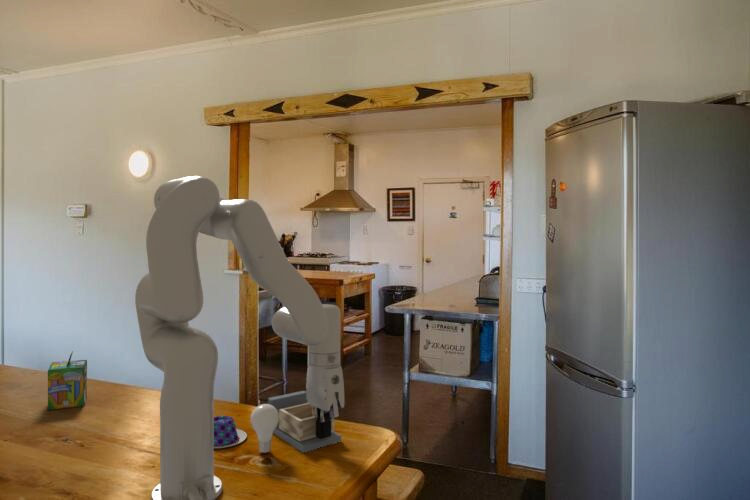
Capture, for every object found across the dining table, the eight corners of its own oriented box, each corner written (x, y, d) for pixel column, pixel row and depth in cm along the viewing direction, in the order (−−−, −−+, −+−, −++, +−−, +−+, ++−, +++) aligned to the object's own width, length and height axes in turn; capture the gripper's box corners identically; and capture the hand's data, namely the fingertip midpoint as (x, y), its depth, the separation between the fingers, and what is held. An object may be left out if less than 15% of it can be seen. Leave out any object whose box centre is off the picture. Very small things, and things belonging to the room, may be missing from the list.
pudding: (193, 435, 126) (193, 414, 126) (243, 428, 130) (243, 408, 130) (196, 454, 115) (196, 431, 115) (250, 446, 119) (250, 424, 119)
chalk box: (51, 401, 149) (51, 350, 148) (87, 397, 153) (87, 348, 152) (46, 411, 141) (45, 357, 140) (84, 406, 144) (84, 354, 144)
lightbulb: (272, 460, 112) (272, 410, 111) (245, 457, 113) (245, 408, 113) (283, 448, 118) (283, 401, 118) (257, 445, 119) (257, 399, 119)
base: (341, 441, 122) (341, 408, 122) (303, 453, 115) (303, 418, 115) (303, 420, 136) (303, 390, 135) (267, 429, 129) (267, 398, 129)
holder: (334, 431, 123) (334, 412, 123) (299, 441, 117) (299, 421, 117) (312, 419, 131) (312, 401, 131) (279, 428, 125) (279, 409, 125)
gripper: (356, 362, 114) (355, 443, 115) (320, 350, 126) (320, 423, 127) (327, 367, 110) (327, 451, 110) (293, 354, 121) (293, 430, 122)
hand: (323, 436), depth 118 cm, fingers closed
